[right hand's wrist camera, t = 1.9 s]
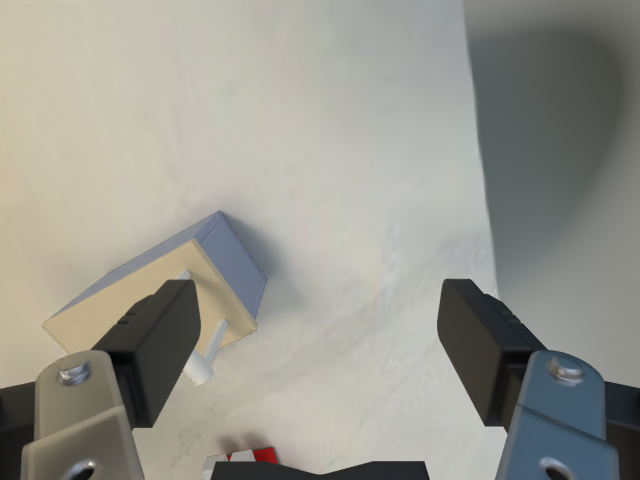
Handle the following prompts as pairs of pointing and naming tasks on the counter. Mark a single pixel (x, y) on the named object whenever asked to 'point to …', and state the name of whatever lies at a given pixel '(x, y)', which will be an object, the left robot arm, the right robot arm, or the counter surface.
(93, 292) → the chest
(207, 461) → the toy
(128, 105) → the counter surface
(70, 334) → the lid
